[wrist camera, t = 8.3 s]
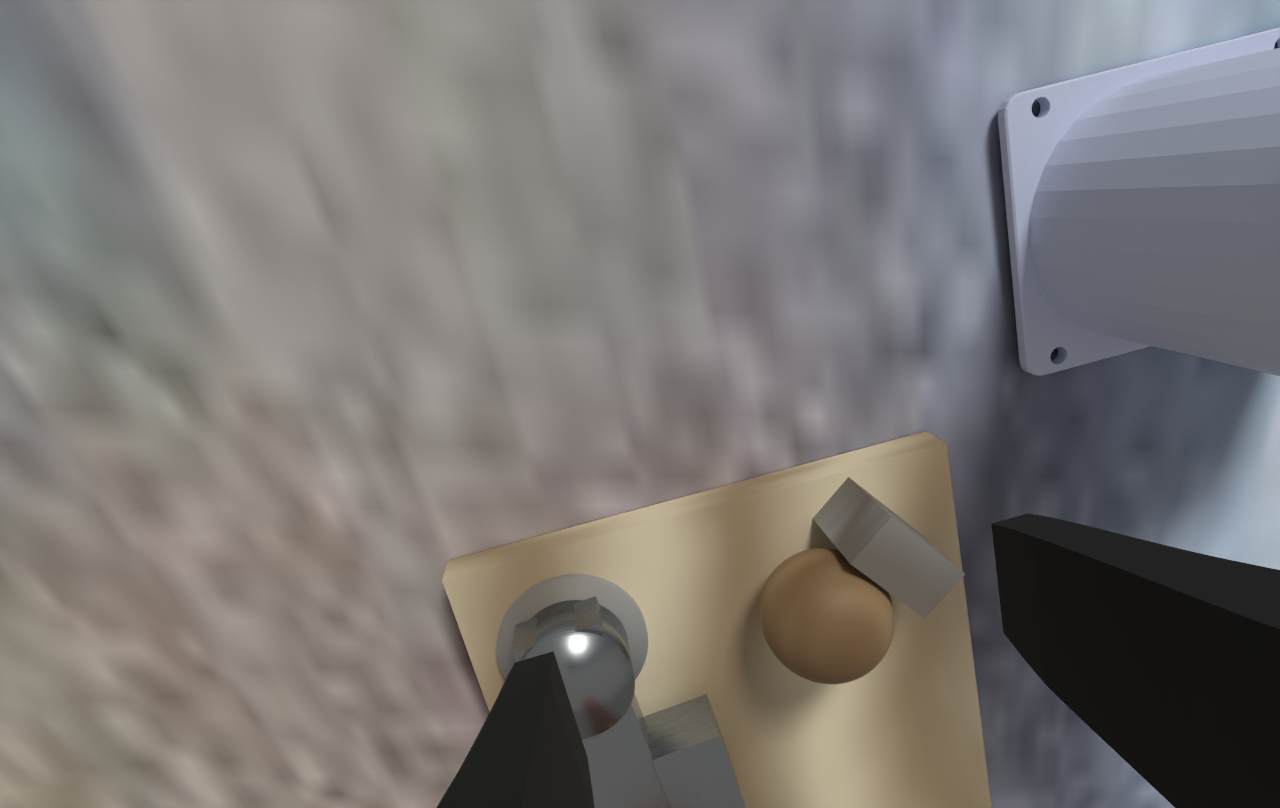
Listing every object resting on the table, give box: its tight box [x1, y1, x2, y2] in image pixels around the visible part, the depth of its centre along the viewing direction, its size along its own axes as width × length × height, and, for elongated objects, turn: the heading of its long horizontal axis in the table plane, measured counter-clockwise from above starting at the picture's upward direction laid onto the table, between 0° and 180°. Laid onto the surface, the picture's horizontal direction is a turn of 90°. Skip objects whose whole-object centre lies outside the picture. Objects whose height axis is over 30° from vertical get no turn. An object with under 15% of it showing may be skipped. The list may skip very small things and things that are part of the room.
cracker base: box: [442, 431, 992, 808], centre depth 22 cm, size 15×15×5 cm
